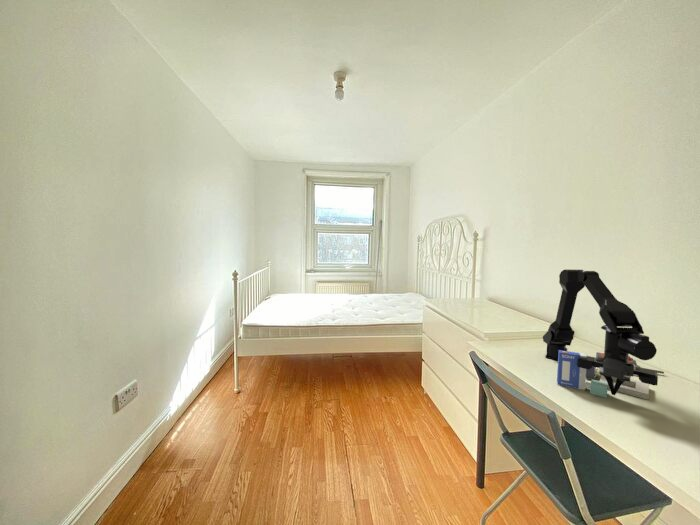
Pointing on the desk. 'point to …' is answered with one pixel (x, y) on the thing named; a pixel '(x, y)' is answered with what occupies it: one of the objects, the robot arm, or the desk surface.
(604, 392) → the green block
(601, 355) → the red-grey gadget
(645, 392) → the socket plate
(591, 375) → the charger
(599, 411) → the desk surface
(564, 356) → the walkman
